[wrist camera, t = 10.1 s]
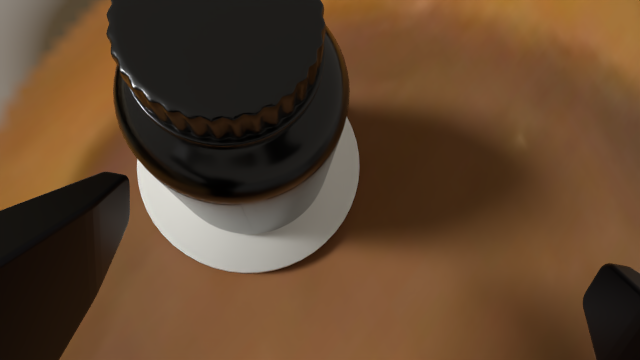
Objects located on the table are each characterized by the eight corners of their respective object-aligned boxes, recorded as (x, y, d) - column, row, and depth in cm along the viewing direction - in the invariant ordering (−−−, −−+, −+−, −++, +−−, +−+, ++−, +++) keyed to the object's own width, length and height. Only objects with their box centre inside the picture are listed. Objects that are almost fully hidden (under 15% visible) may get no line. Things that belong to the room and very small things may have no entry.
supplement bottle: (259, 62, 24) (244, -165, 12) (356, 169, 23) (441, 36, 11) (139, 153, 22) (-11, -7, 10) (239, 270, 21) (197, 239, 10)
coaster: (303, 311, 22) (304, 311, 21) (99, 215, 22) (92, 211, 21) (387, 120, 25) (392, 113, 24) (205, 36, 25) (203, 26, 24)
